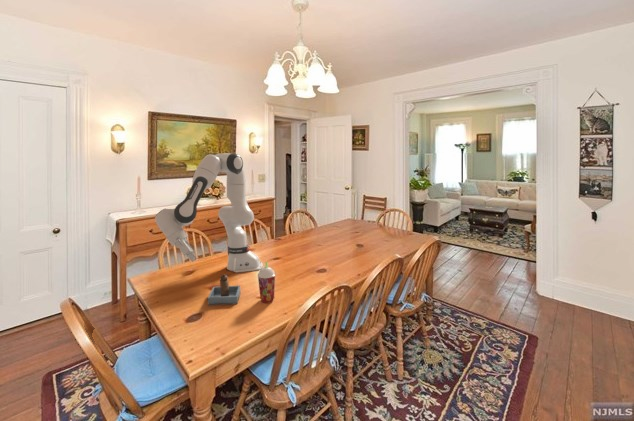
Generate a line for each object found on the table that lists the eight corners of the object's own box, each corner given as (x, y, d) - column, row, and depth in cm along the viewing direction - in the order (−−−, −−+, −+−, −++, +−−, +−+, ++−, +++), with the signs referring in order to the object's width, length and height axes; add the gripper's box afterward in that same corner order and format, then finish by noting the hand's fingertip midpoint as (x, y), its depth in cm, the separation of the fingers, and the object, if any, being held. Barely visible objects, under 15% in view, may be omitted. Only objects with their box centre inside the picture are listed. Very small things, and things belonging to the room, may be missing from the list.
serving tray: (240, 292, 163) (240, 285, 163) (237, 303, 151) (237, 296, 150) (213, 293, 162) (213, 286, 161) (208, 305, 149) (207, 298, 149)
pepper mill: (229, 295, 158) (228, 272, 156) (228, 298, 154) (227, 275, 152) (221, 295, 158) (220, 272, 156) (220, 299, 154) (218, 275, 152)
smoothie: (276, 296, 159) (275, 258, 155) (275, 304, 150) (274, 264, 147) (260, 296, 158) (258, 259, 155) (257, 304, 150) (256, 265, 146)
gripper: (182, 233, 150) (199, 257, 151) (185, 235, 169) (200, 256, 170) (170, 241, 148) (187, 265, 149) (175, 242, 167) (190, 263, 168)
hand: (194, 260), depth 159 cm, fingers open, 8 cm apart
